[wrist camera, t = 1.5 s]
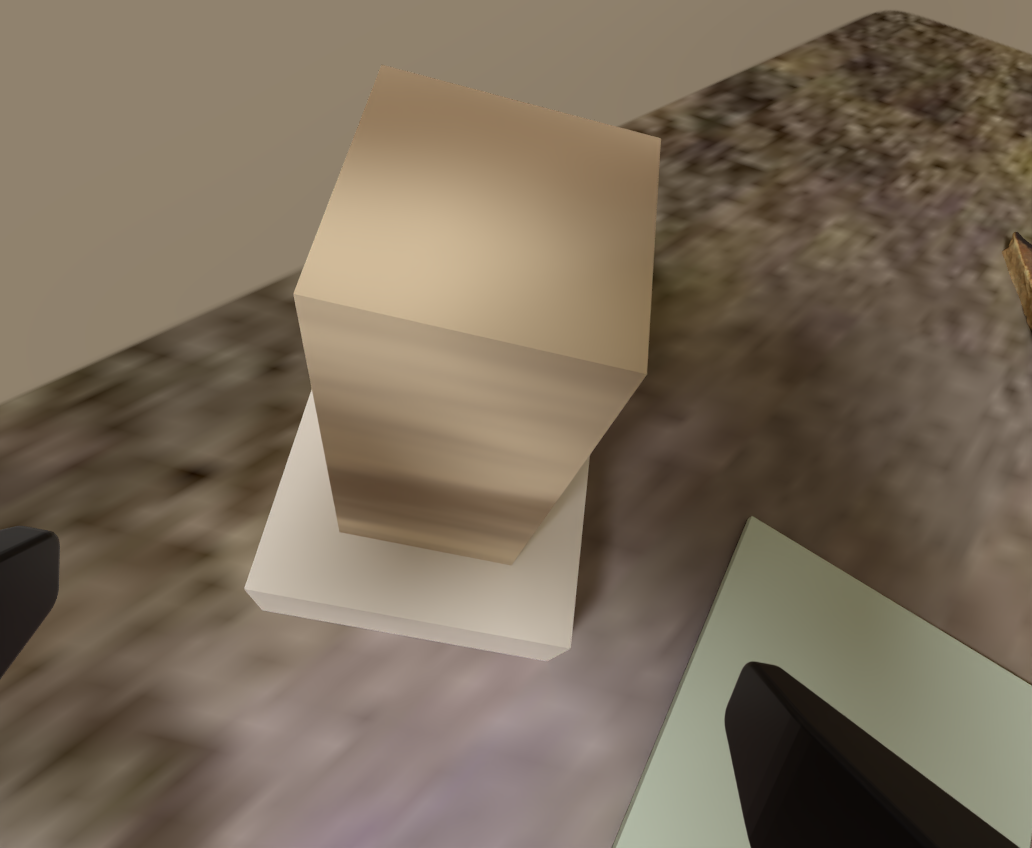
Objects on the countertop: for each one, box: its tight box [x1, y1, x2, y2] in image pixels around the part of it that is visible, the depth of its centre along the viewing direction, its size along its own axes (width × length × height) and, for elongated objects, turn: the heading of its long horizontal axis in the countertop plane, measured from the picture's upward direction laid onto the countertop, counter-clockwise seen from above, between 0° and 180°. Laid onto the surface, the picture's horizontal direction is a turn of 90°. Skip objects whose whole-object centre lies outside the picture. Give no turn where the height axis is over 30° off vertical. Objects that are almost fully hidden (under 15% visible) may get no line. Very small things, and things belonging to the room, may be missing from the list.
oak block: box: [294, 65, 661, 565], centre depth 15 cm, size 5×5×11 cm
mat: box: [612, 516, 1032, 848], centre depth 21 cm, size 12×12×1 cm
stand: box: [244, 390, 590, 661], centre depth 21 cm, size 9×9×3 cm
